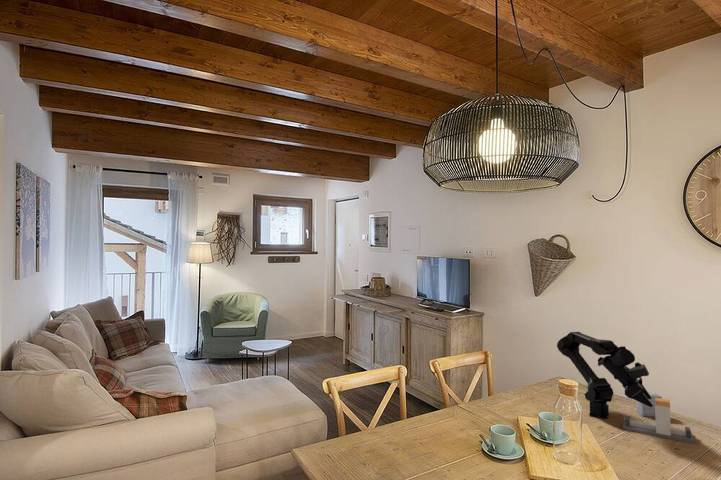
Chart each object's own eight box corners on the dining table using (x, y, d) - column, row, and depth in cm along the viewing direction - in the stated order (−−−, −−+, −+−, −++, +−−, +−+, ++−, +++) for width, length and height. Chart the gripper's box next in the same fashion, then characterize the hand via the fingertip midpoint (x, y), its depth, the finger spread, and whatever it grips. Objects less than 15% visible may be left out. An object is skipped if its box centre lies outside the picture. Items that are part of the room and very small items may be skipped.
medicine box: (656, 412, 178) (655, 392, 178) (662, 417, 173) (662, 396, 173) (636, 412, 178) (636, 392, 178) (642, 416, 174) (642, 395, 174)
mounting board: (622, 429, 162) (622, 420, 163) (623, 421, 169) (623, 413, 169) (694, 443, 150) (694, 434, 150) (692, 435, 157) (691, 426, 157)
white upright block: (656, 432, 157) (655, 402, 157) (655, 425, 163) (654, 396, 163) (670, 435, 154) (670, 405, 154) (669, 428, 161) (669, 398, 161)
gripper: (634, 363, 156) (671, 398, 150) (633, 352, 172) (667, 383, 166) (610, 380, 160) (645, 415, 154) (611, 368, 176) (643, 399, 170)
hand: (651, 402), depth 161 cm, fingers open, 9 cm apart
